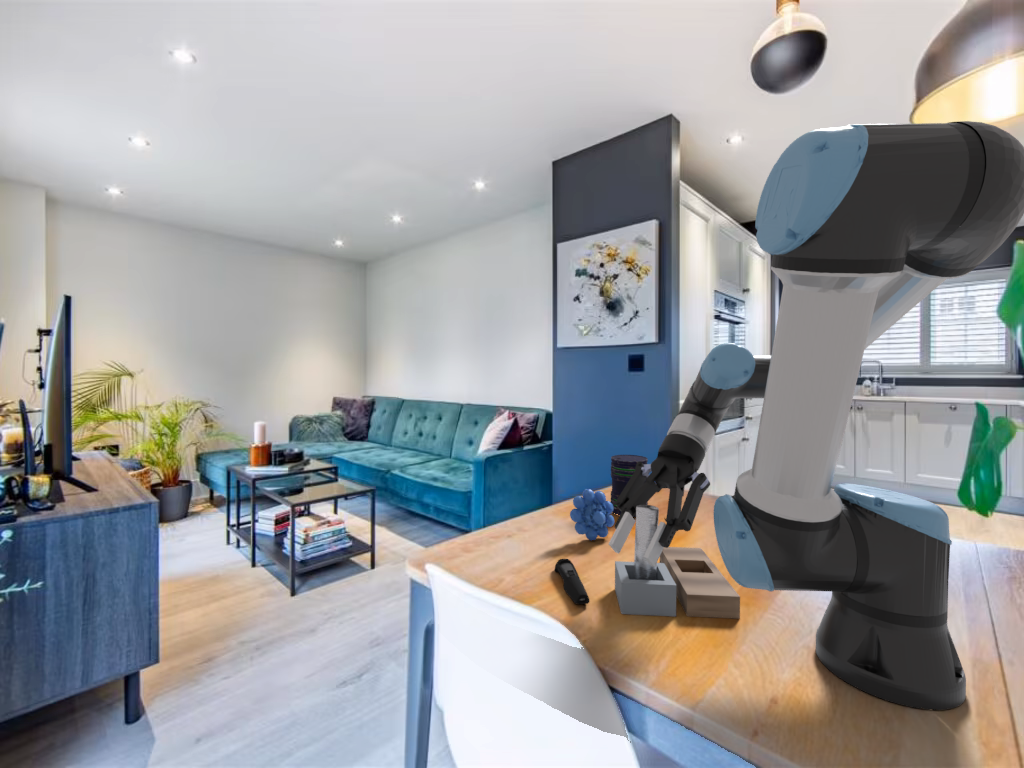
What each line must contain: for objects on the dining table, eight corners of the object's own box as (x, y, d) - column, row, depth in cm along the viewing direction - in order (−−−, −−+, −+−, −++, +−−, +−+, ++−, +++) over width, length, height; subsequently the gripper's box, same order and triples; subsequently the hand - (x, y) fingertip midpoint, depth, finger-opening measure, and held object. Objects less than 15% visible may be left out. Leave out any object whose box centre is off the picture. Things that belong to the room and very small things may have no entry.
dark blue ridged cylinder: (640, 506, 133) (640, 454, 132) (653, 517, 123) (653, 461, 123) (606, 507, 132) (606, 454, 132) (616, 518, 122) (616, 461, 122)
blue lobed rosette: (580, 551, 100) (580, 495, 100) (564, 540, 107) (565, 488, 106) (625, 543, 105) (625, 490, 105) (607, 533, 111) (607, 483, 111)
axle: (657, 602, 76) (660, 512, 76) (635, 600, 77) (638, 510, 76) (653, 591, 80) (656, 505, 79) (631, 589, 80) (634, 504, 79)
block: (676, 616, 74) (676, 585, 74) (621, 613, 75) (621, 583, 74) (663, 591, 82) (664, 563, 82) (614, 588, 83) (615, 561, 83)
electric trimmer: (571, 613, 76) (571, 594, 76) (553, 571, 91) (553, 555, 91) (594, 612, 76) (594, 593, 76) (572, 570, 92) (572, 554, 91)
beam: (739, 618, 73) (740, 596, 73) (687, 616, 74) (687, 594, 74) (700, 565, 93) (701, 547, 93) (659, 563, 94) (659, 546, 94)
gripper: (745, 465, 80) (694, 587, 70) (649, 450, 95) (595, 549, 85) (731, 437, 76) (675, 562, 67) (633, 426, 91) (575, 527, 81)
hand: (630, 554), depth 76 cm, fingers open, 6 cm apart
